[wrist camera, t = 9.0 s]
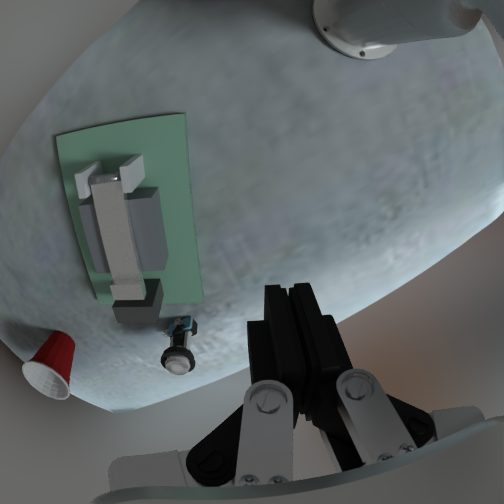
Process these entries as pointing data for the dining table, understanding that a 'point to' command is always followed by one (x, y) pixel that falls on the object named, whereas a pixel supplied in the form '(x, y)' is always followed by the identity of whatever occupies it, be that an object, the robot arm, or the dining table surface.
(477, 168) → the dining table surface
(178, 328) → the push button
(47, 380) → the plastic cup
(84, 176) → the board
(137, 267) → the retention strap
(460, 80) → the dining table surface
